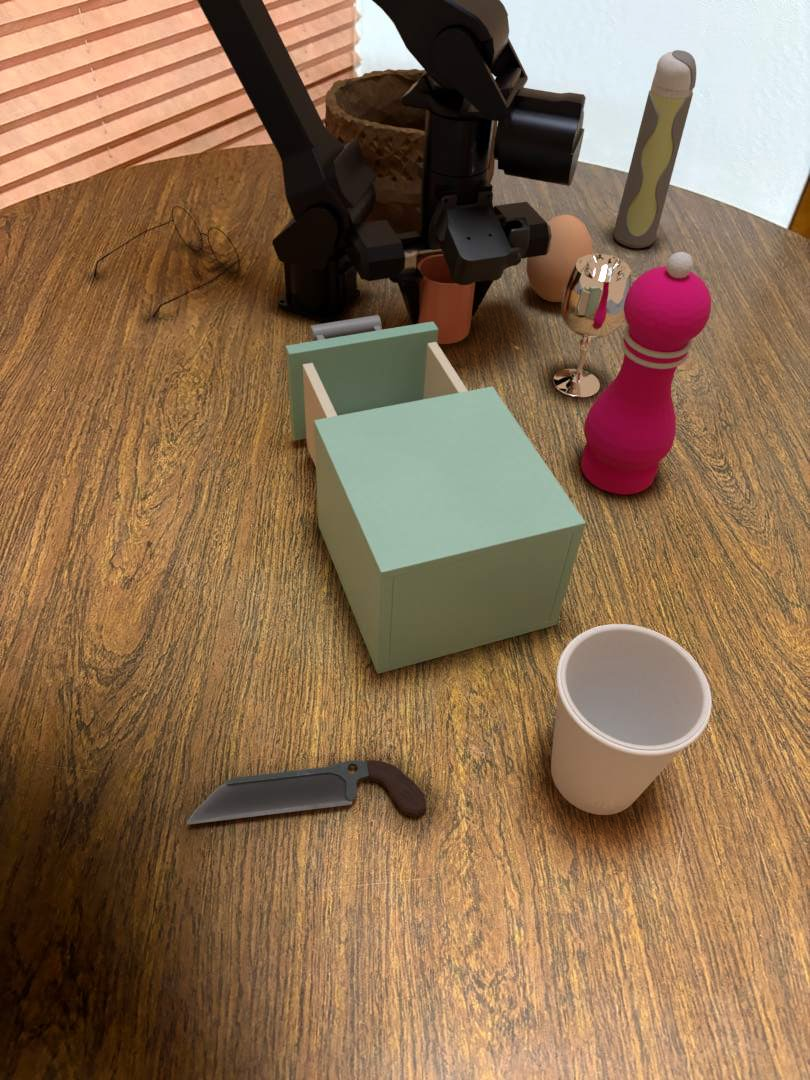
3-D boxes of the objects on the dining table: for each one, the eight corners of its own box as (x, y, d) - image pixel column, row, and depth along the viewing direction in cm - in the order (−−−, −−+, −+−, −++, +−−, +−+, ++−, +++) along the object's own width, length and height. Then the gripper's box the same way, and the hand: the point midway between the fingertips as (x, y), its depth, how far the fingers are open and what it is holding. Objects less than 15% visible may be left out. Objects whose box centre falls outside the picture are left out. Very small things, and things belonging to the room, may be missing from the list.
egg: (582, 285, 93) (600, 204, 87) (585, 318, 89) (604, 236, 82) (521, 279, 94) (534, 198, 87) (521, 312, 89) (534, 229, 82)
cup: (403, 333, 86) (406, 274, 81) (427, 306, 89) (432, 248, 84) (455, 350, 84) (461, 291, 79) (478, 322, 88) (485, 263, 83)
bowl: (388, 179, 109) (392, 50, 98) (515, 227, 102) (535, 93, 91) (290, 235, 98) (282, 97, 87) (424, 292, 91) (434, 150, 80)
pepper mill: (664, 454, 75) (741, 239, 60) (653, 509, 70) (733, 290, 55) (583, 434, 76) (638, 219, 62) (566, 486, 71) (622, 267, 57)
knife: (416, 757, 54) (417, 751, 53) (427, 817, 51) (428, 812, 51) (188, 783, 52) (186, 778, 51) (187, 847, 49) (185, 842, 49)
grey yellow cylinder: (613, 227, 103) (656, 43, 88) (654, 233, 102) (704, 48, 88) (611, 247, 99) (656, 59, 85) (653, 253, 99) (706, 64, 84)
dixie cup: (665, 848, 51) (718, 766, 43) (524, 822, 51) (553, 736, 44) (661, 726, 56) (707, 635, 49) (534, 704, 57) (561, 610, 50)
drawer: (277, 398, 76) (270, 311, 70) (408, 374, 80) (412, 289, 73) (336, 543, 65) (334, 455, 58) (487, 508, 68) (500, 422, 62)
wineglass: (605, 406, 79) (636, 290, 70) (543, 396, 80) (566, 280, 71) (608, 370, 83) (638, 255, 74) (548, 361, 84) (571, 246, 75)
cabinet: (318, 525, 67) (313, 419, 59) (477, 490, 71) (493, 385, 63) (377, 674, 58) (380, 572, 50) (557, 625, 62) (586, 522, 54)
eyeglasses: (158, 323, 85) (150, 277, 81) (87, 273, 91) (76, 228, 87) (247, 282, 91) (243, 238, 87) (175, 238, 96) (168, 195, 93)
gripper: (383, 219, 67) (379, 382, 78) (594, 192, 72) (561, 349, 83) (342, 159, 74) (343, 316, 85) (537, 138, 79) (513, 289, 90)
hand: (441, 319), depth 86 cm, fingers closed on cup, 6 cm apart
